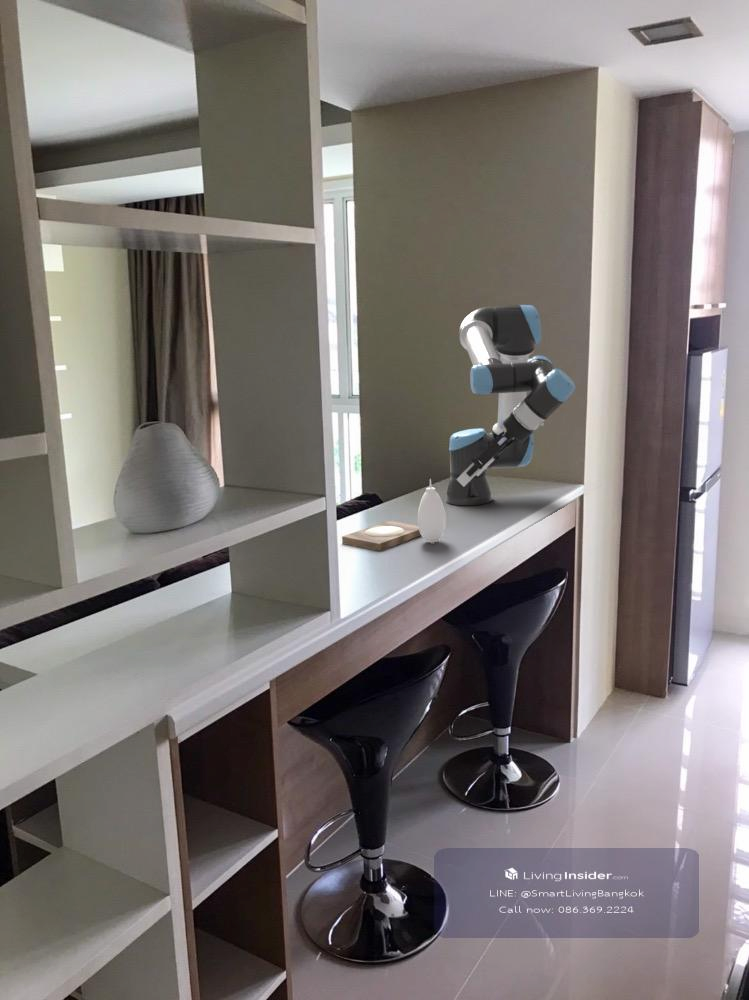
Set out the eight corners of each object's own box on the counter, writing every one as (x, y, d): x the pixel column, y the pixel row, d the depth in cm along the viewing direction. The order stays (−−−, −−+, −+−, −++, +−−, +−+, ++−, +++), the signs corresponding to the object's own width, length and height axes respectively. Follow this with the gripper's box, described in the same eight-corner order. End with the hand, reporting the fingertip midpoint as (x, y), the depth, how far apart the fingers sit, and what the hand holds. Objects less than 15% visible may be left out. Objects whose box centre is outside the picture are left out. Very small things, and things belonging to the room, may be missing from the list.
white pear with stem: (445, 546, 224) (443, 481, 220) (416, 546, 225) (413, 481, 221) (448, 538, 231) (446, 475, 227) (420, 538, 233) (417, 475, 229)
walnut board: (389, 527, 247) (389, 520, 246) (426, 534, 237) (426, 526, 237) (342, 543, 232) (342, 535, 232) (379, 550, 223) (379, 543, 223)
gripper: (523, 439, 200) (464, 498, 209) (543, 424, 222) (489, 478, 231) (501, 417, 200) (443, 476, 209) (523, 405, 223) (470, 459, 232)
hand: (467, 477), depth 220 cm, fingers open, 13 cm apart
